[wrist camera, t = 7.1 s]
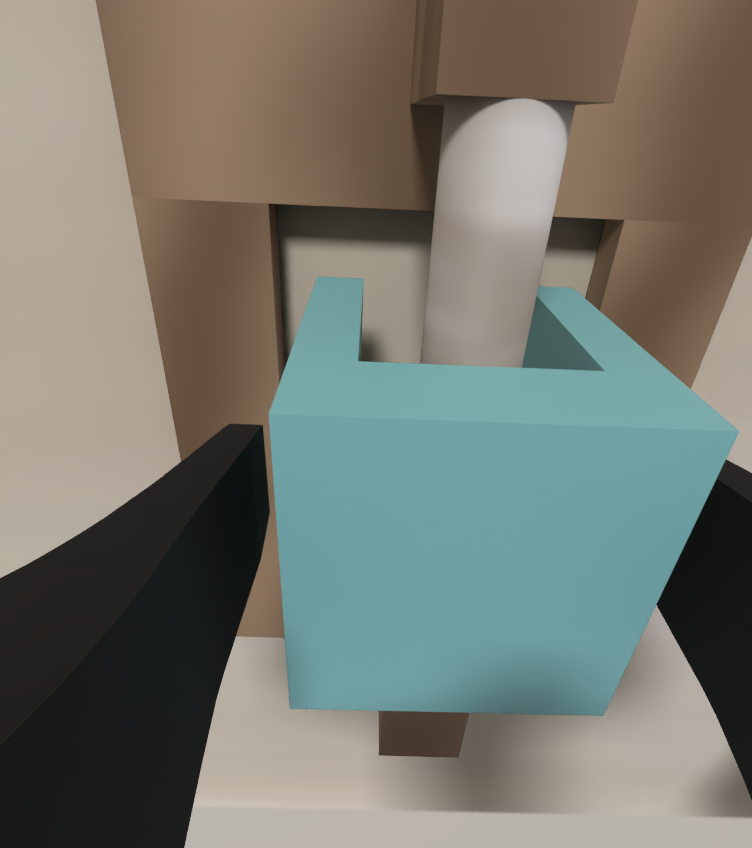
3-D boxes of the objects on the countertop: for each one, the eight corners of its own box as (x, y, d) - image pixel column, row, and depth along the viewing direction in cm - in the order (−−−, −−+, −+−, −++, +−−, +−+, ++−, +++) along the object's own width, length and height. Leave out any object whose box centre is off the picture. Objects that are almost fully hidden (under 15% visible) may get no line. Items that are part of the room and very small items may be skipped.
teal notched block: (572, 287, 11) (739, 431, 6) (520, 500, 14) (603, 715, 9) (317, 276, 11) (269, 413, 6) (320, 494, 14) (289, 708, 9)
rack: (890, -212, 9) (1753, -765, 3) (578, 624, 20) (655, 818, 15) (72, -263, 9) (-487, -957, 3) (220, 613, 20) (159, 806, 14)
